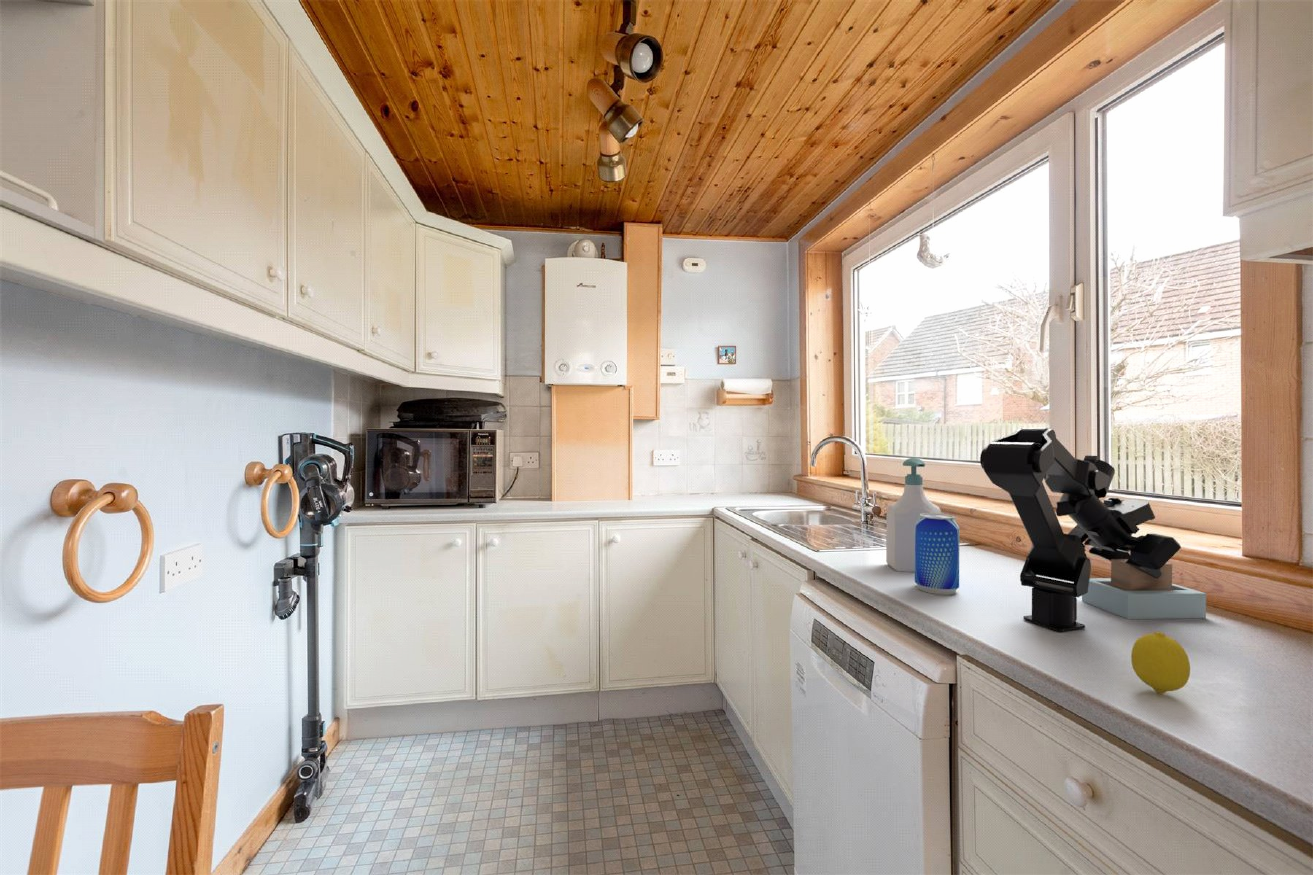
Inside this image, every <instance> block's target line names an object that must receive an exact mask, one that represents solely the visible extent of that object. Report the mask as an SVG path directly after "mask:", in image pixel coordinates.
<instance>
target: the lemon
mask: <svg viewBox="0 0 1313 875" xmlns="http://www.w3.org/2000/svg"><path fill="white" fill-rule="evenodd" d="M1130 657H1131V658H1130V659H1131V666H1132V669H1133V672H1134V673H1135V675H1136V676H1137V677H1138V678H1139V680H1140V681H1141V682H1143V683H1144V684H1145V685H1147V686H1148V687H1150V688H1152V689H1153V691H1155V693H1157V692H1158V693H1157V694H1160V693H1163V694H1166V693H1167V692H1174V691H1178V690H1180V689H1182V688H1183V687H1185V686H1186V684H1187V683H1188V682H1189V678H1190V675H1191V665H1190V664H1191V663H1190V660H1189V656H1188V654H1187V652H1186V651H1185V649H1184V647H1183V646H1182V645H1181V644H1180V643H1179V642H1178V641H1176V640H1175V639H1173V638H1172V637H1170V636H1167V635H1166V634H1165V633H1164V632H1160V631H1156V632H1155V633H1147V634H1145V635H1142V636H1140V637H1139V638H1138V639H1136V640H1135V642H1134V643H1133V646H1132V649H1131V655H1130Z"/></svg>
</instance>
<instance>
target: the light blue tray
mask: <svg viewBox="0 0 1313 875" xmlns="http://www.w3.org/2000/svg"><path fill="white" fill-rule="evenodd" d="M1081 602H1084V603H1085V604H1089V605H1091V606H1094V607H1096V608H1100V609H1102V610H1104V611H1106V612H1109V613H1111V614H1113V615H1114V614H1115V615H1116V616H1119V617H1122V618H1124V619H1127V620H1148V619H1149V620H1153V619H1155V620H1157V619H1164V620H1165V619H1168V620H1169V619H1206V618H1207V593H1206V592H1202V591H1199V590H1196V589H1193V588H1189V587H1185V586H1183V585H1178V584H1175V583H1172V590H1150V591H1124V590H1121V589H1118V588H1115V587H1112V586H1111V577H1109V578H1108V577H1104V578H1103V577H1100V578H1096V577H1095V578H1094V577H1092V578H1090V579H1089V586H1088V593H1086V594H1084V595H1082V596H1081Z"/></svg>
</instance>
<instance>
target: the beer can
mask: <svg viewBox="0 0 1313 875" xmlns="http://www.w3.org/2000/svg"><path fill="white" fill-rule="evenodd" d="M914 583H915V584H916V585H917V587H918V589H919V590H921V591H923V592H924V593H928V594H933V595H941V596H942V595H943V596H948V595H950V596H951V595H953V594H955V593H956V591H957V590H958V589H959V588H960V526H959V525H958V523H957V521H956V520H955V516H954V515H951V514H947V513H941V514H938V513H923V514H920V518H919V519H918V521H917V522H916V524H915V572H914Z"/></svg>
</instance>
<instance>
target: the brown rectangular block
mask: <svg viewBox="0 0 1313 875" xmlns="http://www.w3.org/2000/svg"><path fill="white" fill-rule="evenodd" d="M1127 560H1128V559H1111V562H1110V578H1111V586H1112V587H1115V588H1118V589H1121V590H1124V591H1150V590H1172V584H1173V563H1169V562H1167V563H1166V564H1165V565H1164V566H1163V567H1162V568H1161V569H1160V571H1161V573H1162V575H1161V576H1160V577H1159V578H1155V577H1153V576H1151V575H1149V574H1147V573H1145V572H1143V571H1141V570H1139V569H1137V568H1135V567H1133V566H1131V565H1129V564H1127V563H1125V562H1126V561H1127Z"/></svg>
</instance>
